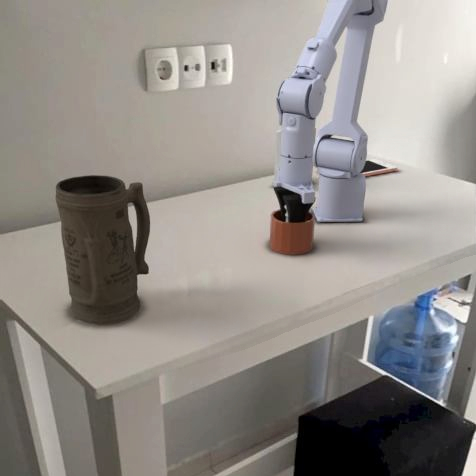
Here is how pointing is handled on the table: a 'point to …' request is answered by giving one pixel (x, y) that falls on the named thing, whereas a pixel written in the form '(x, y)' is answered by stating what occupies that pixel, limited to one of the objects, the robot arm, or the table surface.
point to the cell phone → (377, 167)
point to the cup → (291, 234)
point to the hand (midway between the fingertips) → (292, 229)
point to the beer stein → (102, 246)
